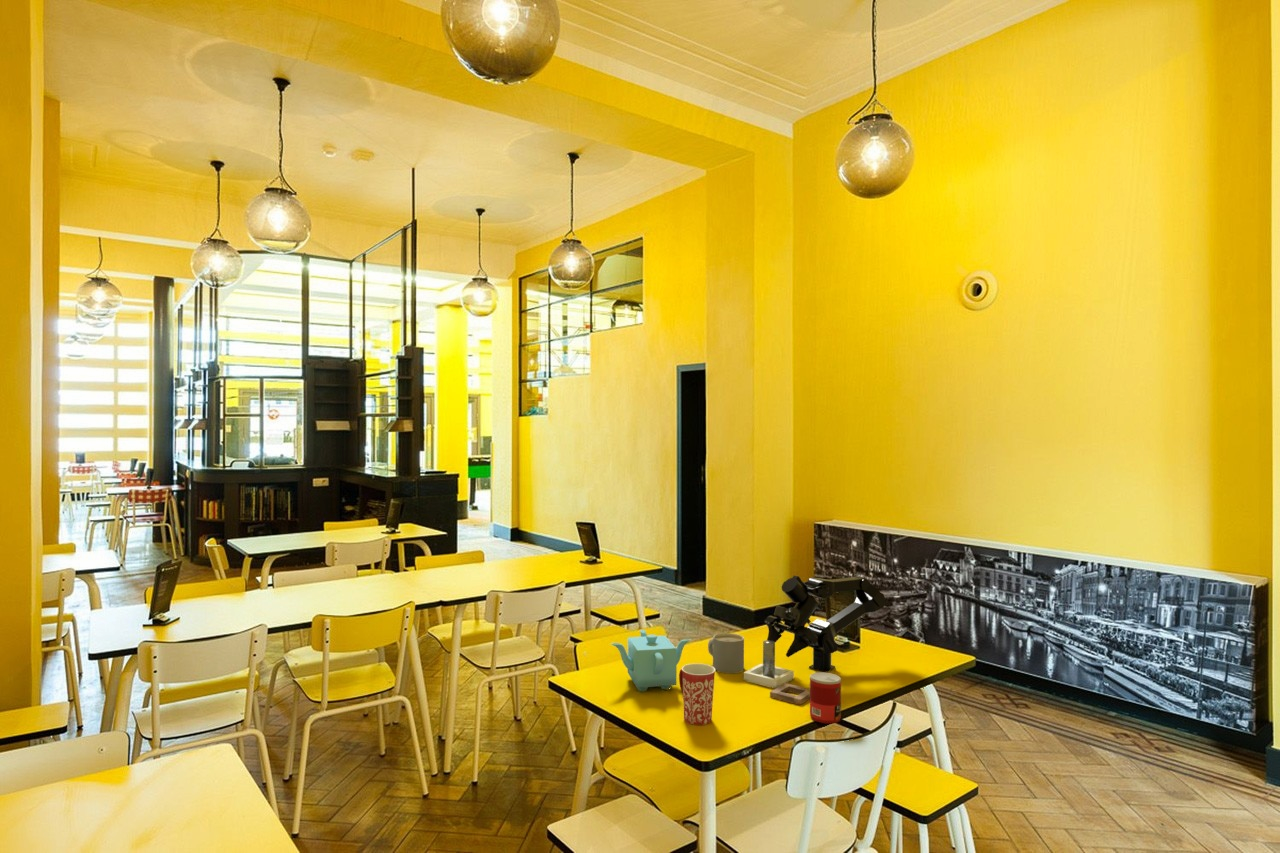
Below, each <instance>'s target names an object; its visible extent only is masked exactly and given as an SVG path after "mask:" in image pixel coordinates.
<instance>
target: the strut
mask: <svg viewBox="0 0 1280 853" xmlns="http://www.w3.org/2000/svg"><path fill="white" fill-rule="evenodd" d="M762 664H763V676H767V677H771V678H775V667H776V642H774V641H770V640H767V639H766V640H763V641H762Z"/></svg>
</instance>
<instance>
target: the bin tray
mask: <svg viewBox="0 0 1280 853" xmlns="http://www.w3.org/2000/svg"><path fill="white" fill-rule="evenodd" d="M794 672H795V671H794V670H791V669H787V668H784V667H779V666H775V678H771V677H767V676H763V663H760V664H757V665H755V666H753V667H752V668H750V669H748V670H746V671H744V672H743V681H744V682H748V683H751V684H757V685H760V686H764V687H768V688H771V687H772V688H771V689H776V688H778V687H779V686H781V685H783V684H785V683H787V682H788V683H789V681H790V682H791V681H793V680H794V679H795V678H794V677H795V674H794ZM792 679H793V680H792ZM788 683H787V684H788Z"/></svg>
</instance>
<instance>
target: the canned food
mask: <svg viewBox="0 0 1280 853" xmlns="http://www.w3.org/2000/svg"><path fill="white" fill-rule="evenodd" d="M809 689H810V699H809V715H810V718H811V720H813V721H815V722H818V723H820V724H826V725H827V724H829V723H830V724H831V725H832V724H837V723H839V722H840V720H841V718H842V717H841V716H842V678H841V677H840V676H839V675H837V674H834V673H830V672H823V671H819V672H813V673H812V674H810V675H809ZM830 724H829V725H830Z"/></svg>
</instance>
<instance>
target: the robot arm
mask: <svg viewBox="0 0 1280 853" xmlns="http://www.w3.org/2000/svg"><path fill="white" fill-rule="evenodd" d="M781 590H782V592H783V593H784V594H785V595H786V596H787V597H788V599H790V601H791V602H792V603H794V604H795V603H796V604H795V605H794V606H793V607H792V606H791V607H789V608H786V607H784V606H780V605H776V607H775V609H774V613H773V615H774V616H773V615H767V617H766V618H765V619H764V623H765V625H766V627H767V628H768V634H767V638H766V640H770V641H774V642H775V643H776V642H778V640H779V639H781V637H783V635H782V634H784V633H785V632H787V633H791V634H793V635H794V636H793V641H792V643H791V644H790V646H789V648H788V649H787V651H786V654H785V656H786V657H787V658H789V657H791V656H793V655H795V654H796V653H798V652H800V651H803V650H804V649H806V648H808V647H809V648H811V649H812V664H811V665H809V666H808V668H809V669H811V670H816V671H819V672H824V673H830V672H831V671H832V670H834V669H836V666H835V665H833V664H832V654H834V653H836V652H838V651H837V650H838V648H839V644H838V643H837V642H836V641H835V639H836V635H837V634H838V633H839V632H840V631H842V630H843V629H845V628H846V627H848V626H849V625H851V624H852V623H854V622H855V621H856V620H857V619H859V618H861V617H863V616H864V615H865V614H869V613H875V612H878V611H881V610H882V609H884V608H885V605H886V601H887V600H886V597H885V595H884V593H883V592H881V591H880V590H879V589H878V588H877V587H875V586H874V585H873V584H872V583H871V582H870V581H869V580H868V579H867V577H863V576H862V577H861V576H857V575H855V576H852V577H851V576H850V577H843V578H833V579H825V578H820V577H810V578H808V580H807V581H803V580H802V578H801V577H800V576H798V575H793V576H792V577H790V578H788V579H786V580H785V581H784V582H783V583H782V584H781ZM850 591H851V592H853V591H854V594H855V596H856V597H855V600H854V602H852V603H851V604H849V605H848V606H847V607H845V608H844V609H843V608H842V610H840V611H839V612H837V613H836V614H834V615H832V616H831V617H830V618H829V619H827V620H823V619H820V618H817V619H815V620H814V621H811V620H810V618H811V617H812V616H813V614H814V612H815V610H816V609H817V610H820V611H821V610H822V609H823V607H822V604H821V603H822V602H821V600H820V599H828V598H830V597H832V596H833V595H834V594H836V593H837V594H838V593H843V592H850ZM816 598H819V599H816ZM779 618H780V619H779ZM806 624H807V625H808V626H806Z"/></svg>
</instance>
